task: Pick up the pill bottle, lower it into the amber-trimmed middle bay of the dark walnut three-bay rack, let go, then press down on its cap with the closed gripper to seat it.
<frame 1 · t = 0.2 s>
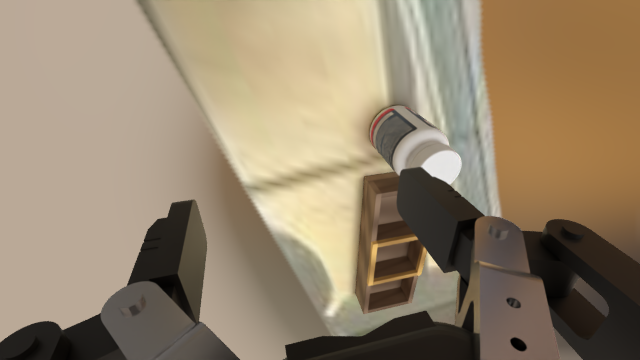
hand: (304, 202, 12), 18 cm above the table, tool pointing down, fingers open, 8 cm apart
rack: (385, 238, 41), on the table
pill bottle: (391, 127, 32), on the table
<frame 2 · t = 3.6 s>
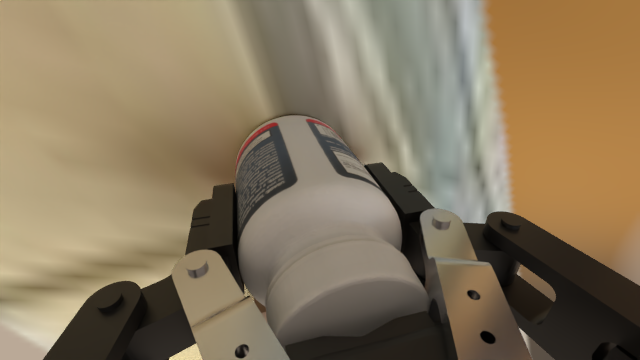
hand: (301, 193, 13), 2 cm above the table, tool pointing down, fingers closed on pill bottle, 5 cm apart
pill bottle: (291, 164, 15), on the table, touching gripper
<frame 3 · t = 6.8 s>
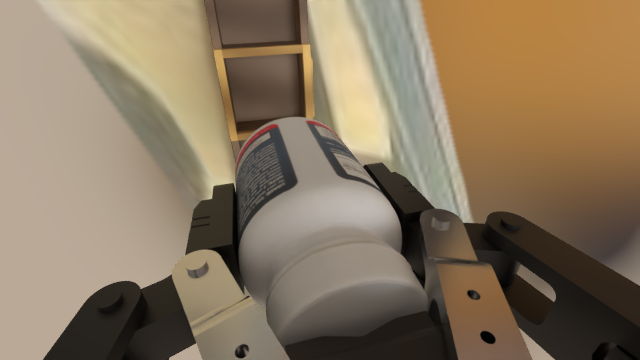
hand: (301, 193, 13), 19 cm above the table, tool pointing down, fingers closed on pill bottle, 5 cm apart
rack: (264, 83, 29), on the table
pill bottle: (292, 165, 15), point 17 cm above the table, touching gripper
when the fingers open (5 cm above the table, at t = 10.2 s): pill bottle drops 2 cm, resting on rack.
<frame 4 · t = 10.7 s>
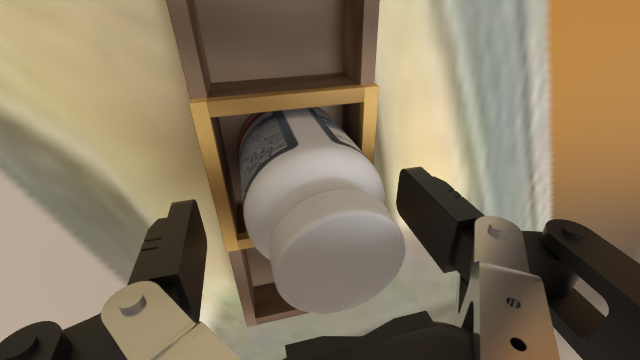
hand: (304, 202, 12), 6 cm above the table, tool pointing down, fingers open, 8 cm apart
rack: (283, 141, 17), on the table
pill bottle: (289, 145, 16), point 1 cm above the table, touching rack
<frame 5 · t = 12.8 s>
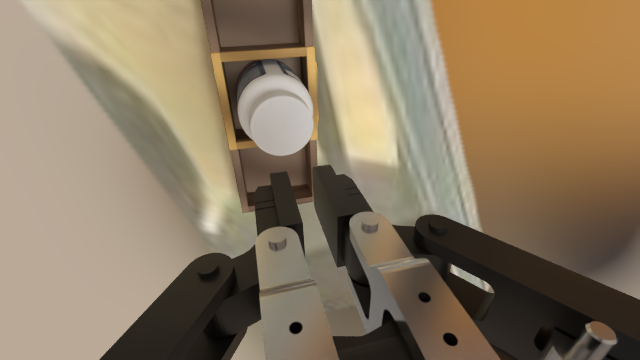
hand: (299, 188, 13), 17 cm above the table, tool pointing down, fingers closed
rack: (265, 88, 27), on the table
pill bottle: (268, 89, 26), point 1 cm above the table, touching rack
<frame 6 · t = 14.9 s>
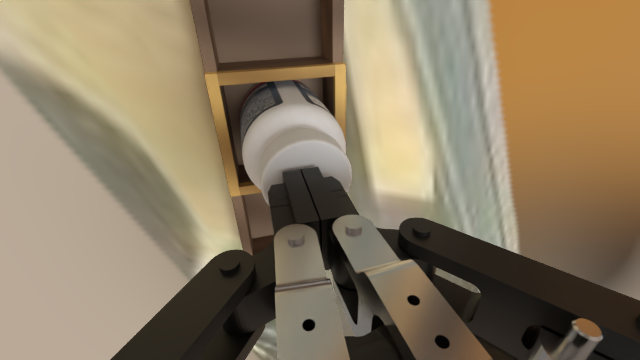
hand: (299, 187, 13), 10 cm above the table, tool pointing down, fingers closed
rack: (276, 113, 21), on the table
pill bottle: (280, 115, 20), point 1 cm above the table, touching gripper, rack
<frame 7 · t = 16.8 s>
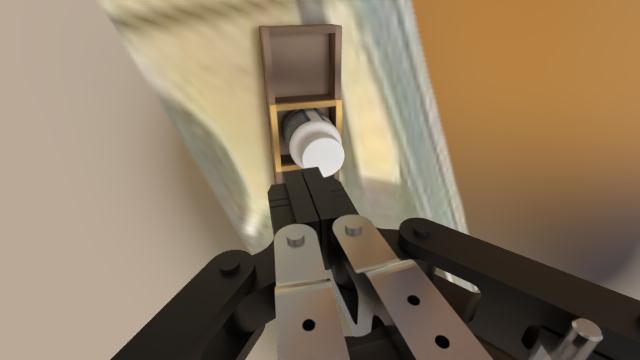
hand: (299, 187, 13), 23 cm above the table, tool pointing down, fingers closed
rack: (301, 125, 36), on the table
pill bottle: (303, 126, 35), point 1 cm above the table, touching rack
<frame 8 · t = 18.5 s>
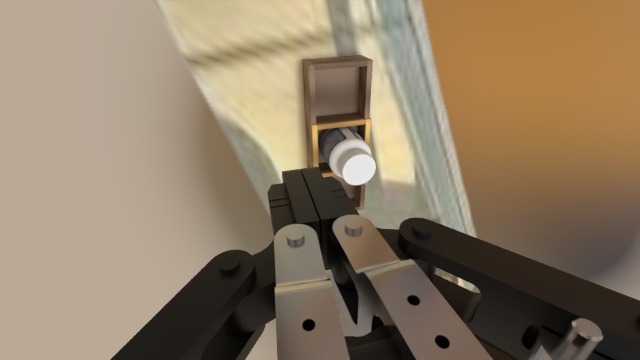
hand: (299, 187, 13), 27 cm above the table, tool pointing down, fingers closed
rack: (333, 137, 42), on the table
pill bottle: (336, 139, 42), point 1 cm above the table, touching rack
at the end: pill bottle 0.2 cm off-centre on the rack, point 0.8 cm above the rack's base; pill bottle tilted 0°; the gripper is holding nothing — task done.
